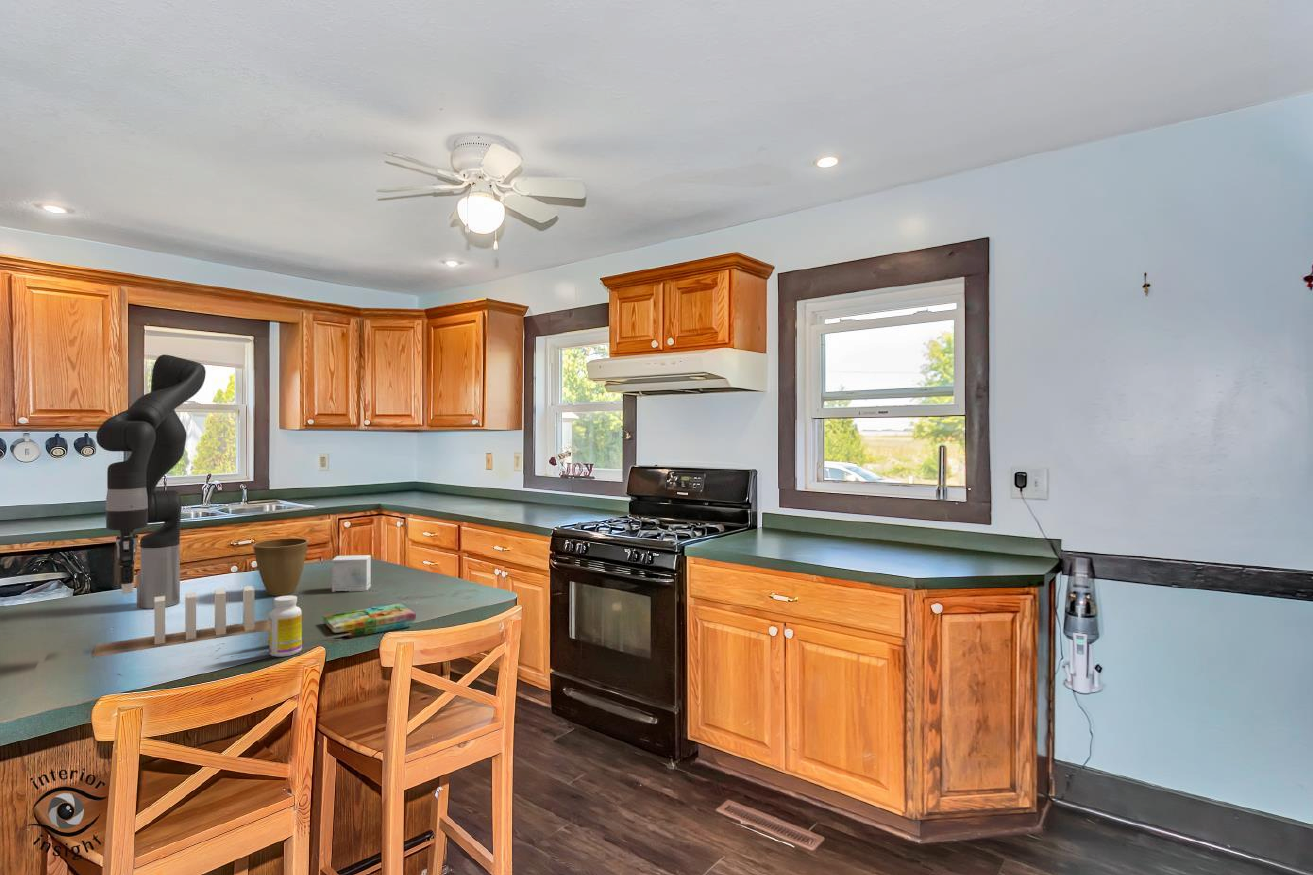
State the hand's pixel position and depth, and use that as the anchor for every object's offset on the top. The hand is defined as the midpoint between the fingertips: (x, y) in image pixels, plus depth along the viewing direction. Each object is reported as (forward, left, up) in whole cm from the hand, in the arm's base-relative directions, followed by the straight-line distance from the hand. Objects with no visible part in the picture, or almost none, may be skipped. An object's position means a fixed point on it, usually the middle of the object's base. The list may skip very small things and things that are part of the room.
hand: (127, 580), depth 154 cm
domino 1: (0, 0, -2) cm, 2 cm away
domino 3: (+9, +8, -15) cm, 19 cm away
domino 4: (+14, +12, -15) cm, 23 cm away
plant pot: (+2, +54, -17) cm, 56 cm away
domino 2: (+5, +4, -15) cm, 16 cm away
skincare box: (+21, +61, -17) cm, 67 cm away
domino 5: (+18, +15, -15) cm, 28 cm away
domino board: (+9, +8, -17) cm, 20 cm away
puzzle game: (+46, +23, -17) cm, 54 cm away
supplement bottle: (+36, +3, -17) cm, 40 cm away
